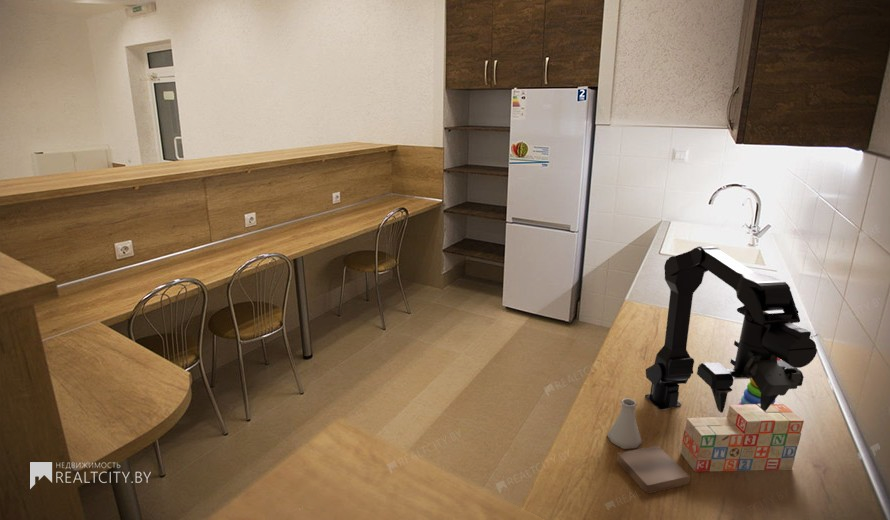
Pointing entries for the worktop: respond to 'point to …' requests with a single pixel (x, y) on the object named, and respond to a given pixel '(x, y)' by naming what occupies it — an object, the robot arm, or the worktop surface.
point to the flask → (626, 427)
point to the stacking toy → (752, 394)
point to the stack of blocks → (743, 439)
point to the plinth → (652, 469)
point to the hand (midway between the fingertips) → (741, 410)
